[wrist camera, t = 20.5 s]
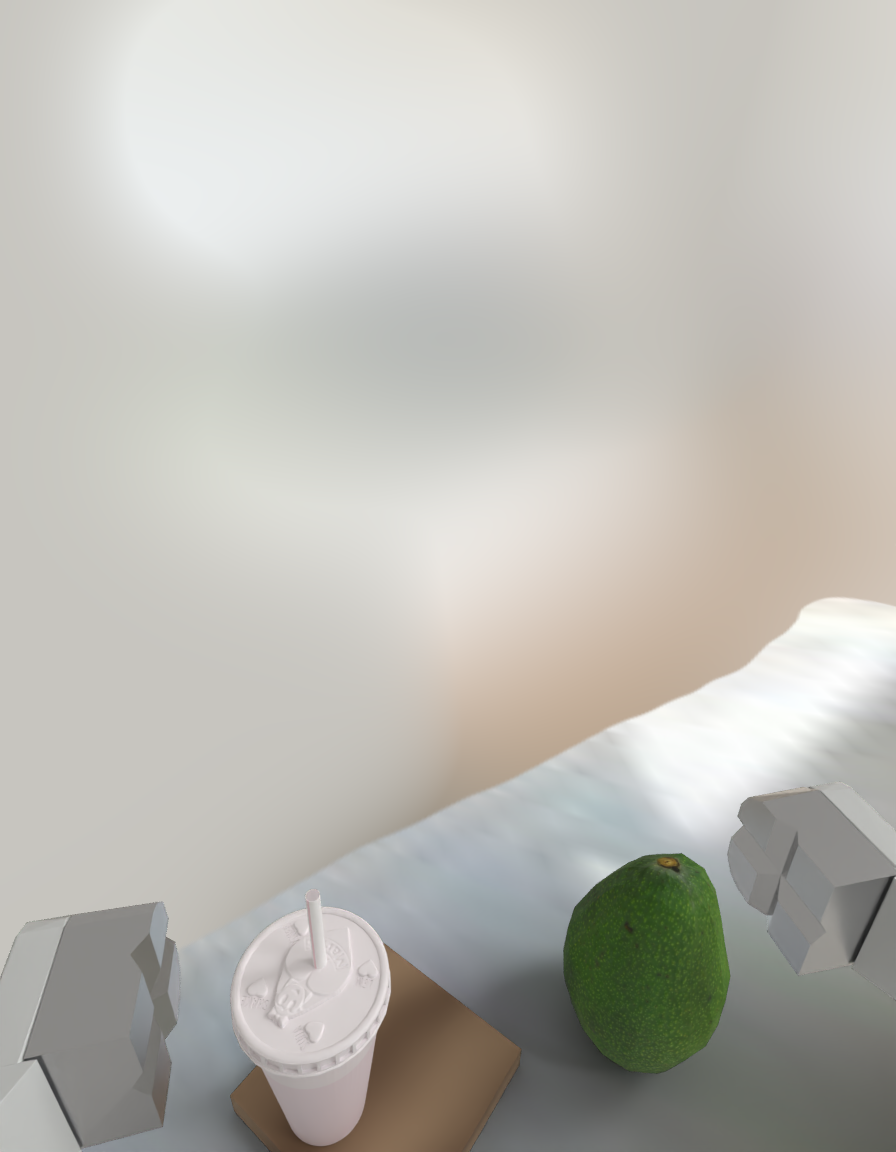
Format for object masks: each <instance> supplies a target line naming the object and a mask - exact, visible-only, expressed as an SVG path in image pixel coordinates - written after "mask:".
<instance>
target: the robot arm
mask: <svg viewBox="0 0 896 1152" xmlns="http://www.w3.org/2000/svg"><path fill="white" fill-rule="evenodd" d="M738 818H739V819H740V821H741V822H742V824H743V826H742V827H741V828H740V829H739V830H738V831H737V832H736V833H735V834H734V836H733V837H732V838H731V841H730V845H729V849H728V854H727V855H728V861H729V866H730V872H731V875H732V877H733V879H734V882H735V884H736V886H737V888H738V890H739V891H740V893H741V894H742V896H743V897H744V899H745V900H746V902H747V903H748V904H749V905H751V906H752V907H754V908H756V909H757V910H759V911H760V912H762V913H764V914H765V915H767V932H768V934H769V935H770V936H771V938H772V939H773V941H774V942H775V944H776V945H777V946H778V948H779V949H780V951H781V952H782V954H783V955H784V956H785V958H786V959H787V961H788V962H789V964H790V965H791V966H792V968H793V969H794V971H795V972H796V974H797V975H798V976H800V975H805V974H809V973H814V972H819V971H824V970H829V969H834V968H839V967H844V966H849V965H853V967H852V969H853V970H855V971H856V972H857V973H859V974H860V975H861V976H863V977H864V978H866V979H867V980H868V981H870V982H871V983H872V984H874V985H875V986H876V987H878V988H879V989H880V990H882V991H883V992H885V993H886V994H887V995H889V996H890V997H891V998H893V999H894V1000H895V1001H896V830H895V829H894V828H893V827H892V826H891V825H890V824H889V823H888V822H887V821H885V820H884V819H883V818H882V817H881V816H880V815H879V814H878V813H877V812H876V811H875V810H874V809H873V808H872V807H871V806H870V805H869V804H868V803H867V802H866V801H865V800H864V799H863V798H862V797H861V796H860V795H859V794H858V793H857V792H856V791H855V790H854V789H852V788H851V787H850V786H848V785H846V784H844V783H842V782H833V783H827V784H822V785H816V786H810V787H807V788H806V787H800V788H795V789H790V790H785V791H780V792H774V793H769V794H764V795H759V796H753V797H749V798H747V799H746V800H745V801H744V802H743V803H742V804H741V807H740V810H739V813H738ZM167 925H168V916H167V913H166V910H165V907H164V904H163V902H156V903H149V904H142V905H135V906H129V907H122V908H115V909H108V910H102V911H95V912H88V913H81V914H75V915H69V916H63V917H57V918H51V919H44V920H39V921H32V922H27V923H26V924H25V925H24V927H23V928H22V930H21V931H20V932H19V934H18V935H17V936H16V938H15V940H14V943H13V945H12V948H11V951H10V953H9V956H8V958H7V961H6V964H5V966H4V969H3V972H2V974H1V977H0V1152H82V1151H81V1149H82V1148H86V1147H90V1146H93V1145H97V1144H101V1143H105V1142H108V1141H112V1140H116V1139H120V1138H123V1137H127V1136H131V1135H135V1134H138V1133H142V1132H146V1131H150V1130H153V1129H157V1128H161V1127H163V1121H164V1114H165V1107H166V1100H167V1092H168V1085H169V1078H170V1071H171V1064H172V1063H171V1060H170V1056H169V1053H168V1050H167V1046H166V1043H165V1039H166V1038H167V1036H168V1035H169V1033H170V1032H171V1031H172V1029H173V1028H174V1027H175V1025H176V1024H177V1018H178V1010H179V1001H180V965H179V956H178V952H177V948H176V944H175V942H174V941H173V940H171V939H169V938H167V937H166V932H167Z"/></svg>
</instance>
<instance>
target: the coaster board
mask: <svg viewBox="0 0 896 1152" xmlns="http://www.w3.org/2000/svg"><path fill="white" fill-rule="evenodd" d="M383 945H384V947H385V950H386V953H387V957H388V963H389V969H390V981H391V994H390V998H389V1003H388V1007H387V1012H386V1015H385V1017H384V1019H383V1021H382V1023H381V1025H380V1027H379V1029H378V1031H377V1034H376V1040H375V1046H374V1052H373V1058H372V1064H371V1070H370V1076H369V1082H368V1088H367V1094H366V1100H365V1105H364V1109H363V1112H362V1115H361V1117H360V1119H359V1121H358V1123H357V1124H356V1126H355V1127H354V1128H353V1130H352V1131H351V1132H350V1133H349V1134H348V1135H347V1136H346V1137H344V1138H343V1139H342V1140H340V1141H338V1142H336V1143H334V1144H331V1145H327V1146H313V1145H310V1144H307V1143H305V1142H303V1141H302V1140H301V1139H299V1138H298V1137H297V1136H296V1135H295V1133H294V1132H293V1130H292V1129H291V1127H290V1125H289V1123H288V1121H287V1119H286V1117H285V1114H284V1112H283V1110H282V1108H281V1106H280V1104H279V1102H278V1100H277V1098H276V1096H275V1094H274V1092H273V1090H272V1088H271V1086H270V1084H269V1082H268V1080H267V1078H266V1076H265V1074H264V1072H263V1070H262V1068H261V1067H259V1066H256V1067H255V1068H254V1069H253V1070H252V1071H251V1073H250V1074H249V1075H248V1076H247V1077H246V1078H245V1079H244V1080H243V1082H242V1083H241V1084H240V1085H239V1086H238V1087H237V1088H236V1089H235V1091H234V1092H233V1093H232V1094H231V1095H230V1097H231V1101H232V1104H233V1108H234V1111H235V1112H236V1114H237V1115H238V1116H239V1117H240V1118H241V1119H242V1120H243V1121H244V1122H245V1124H246V1125H247V1126H248V1127H249V1128H250V1129H251V1130H252V1131H253V1132H254V1134H255V1135H256V1136H257V1137H258V1138H259V1139H260V1140H261V1141H262V1142H263V1144H264V1145H265V1146H266V1147H267V1148H268V1149H269V1150H270V1151H271V1152H470V1150H471V1148H472V1146H473V1145H474V1143H475V1141H476V1140H477V1138H478V1136H479V1134H480V1133H481V1131H482V1129H483V1127H484V1126H485V1124H486V1122H487V1120H488V1119H489V1117H490V1115H491V1113H492V1112H493V1110H494V1108H495V1106H496V1105H497V1103H498V1101H499V1099H500V1098H501V1096H502V1094H503V1092H504V1091H505V1089H506V1087H507V1085H508V1084H509V1082H510V1080H511V1078H512V1077H513V1075H514V1073H515V1072H516V1070H517V1068H518V1066H519V1063H520V1056H521V1048H519V1047H518V1046H517V1045H515V1044H514V1043H513V1042H511V1041H510V1040H509V1039H508V1038H506V1037H505V1036H504V1035H502V1034H501V1033H500V1032H498V1031H497V1030H496V1029H495V1028H493V1027H492V1026H491V1025H489V1024H488V1023H487V1022H486V1021H484V1020H483V1019H482V1018H480V1017H479V1016H478V1015H476V1014H475V1013H474V1012H473V1011H471V1010H470V1009H469V1008H467V1007H466V1006H465V1005H463V1004H462V1003H461V1002H460V1001H458V1000H457V999H456V998H454V997H453V996H452V995H450V994H449V993H448V992H447V991H445V990H444V989H443V988H441V987H440V986H439V985H437V984H436V983H435V982H434V981H432V980H431V979H430V978H428V977H427V976H426V975H424V974H423V973H422V972H421V971H419V970H418V969H417V968H415V967H414V966H413V965H411V964H410V963H409V962H408V961H406V960H405V959H404V958H402V957H401V956H400V955H399V954H397V953H396V952H395V951H393V950H392V949H391V948H389V947H388V946H387V945H386V944H384V943H383Z"/></svg>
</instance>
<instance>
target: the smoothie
mask: <svg viewBox="0 0 896 1152" xmlns="http://www.w3.org/2000/svg"><path fill="white" fill-rule="evenodd" d="M305 900H306V909H302V910H298V911H295V912H292V913H290V914H288V915H285V916H283V917H282V918H280V919H278V920H276V921H275V922H273V923H272V924H270V925H269V926H268V927H266V928H265V929H264V930H263V931H262V932H261V933H260V934H259V935H258V936H257V937H256V938H255V939H254V940H253V941H252V942H251V943H250V945H249V946H248V948H247V949H246V950H245V952H244V954H243V955H242V957H241V959H240V961H239V963H238V965H237V968H236V970H235V973H234V977H233V980H232V985H231V994H230V1004H231V1014H232V1024H233V1030H234V1033H235V1035H236V1037H237V1040H238V1042H239V1045H240V1047H241V1049H242V1050H243V1051H244V1052H245V1053H246V1055H247V1056H248V1057H249V1058H250V1059H251V1060H252V1061H253V1063H254V1064H256V1065H257V1066H259V1067H261V1068H262V1070H263V1072H264V1074H265V1076H266V1078H267V1080H268V1082H269V1084H270V1086H271V1088H272V1090H273V1092H274V1094H275V1096H276V1098H277V1100H278V1102H279V1104H280V1106H281V1108H282V1110H283V1112H284V1114H285V1117H286V1119H287V1121H288V1123H289V1125H290V1127H291V1129H292V1130H293V1132H294V1133H295V1135H296V1136H297V1137H298V1138H299V1139H301V1140H302V1141H303V1142H305V1143H307V1144H310V1145H313V1146H327V1145H331V1144H334V1143H336V1142H338V1141H340V1140H342V1139H343V1138H344V1137H346V1136H347V1135H348V1134H349V1133H350V1132H351V1131H352V1130H353V1128H354V1127H355V1126H356V1124H357V1123H358V1121H359V1119H360V1117H361V1115H362V1112H363V1109H364V1105H365V1100H366V1094H367V1088H368V1082H369V1076H370V1070H371V1064H372V1058H373V1052H374V1046H375V1040H376V1034H377V1031H378V1029H379V1027H380V1025H381V1023H382V1021H383V1019H384V1017H385V1015H386V1012H387V1007H388V1003H389V998H390V994H391V981H390V969H389V963H388V957H387V953H386V950H385V947H384V945H383V942H382V940H381V939H380V937H379V935H378V934H377V932H376V931H375V930H374V929H373V928H372V926H371V925H370V924H368V923H367V922H366V921H365V920H364V919H362V918H361V917H359V916H357V915H356V914H354V913H351V912H349V911H346V910H343V909H339V908H334V907H321V900H320V892H319V891H318V890H317V889H310V890H309V891H307V892H306V894H305Z"/></svg>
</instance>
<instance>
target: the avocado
mask: <svg viewBox="0 0 896 1152" xmlns="http://www.w3.org/2000/svg"><path fill="white" fill-rule="evenodd" d="M563 952H564V977H565V982H566V985H567V988H568V991H569V994H570V998H571V1001H572V1005H573V1007H574V1009H575V1012H576V1014H577V1016H578V1019H579V1021H580V1024H581V1026H582V1028H583V1030H584V1031H585V1032H586V1034H587V1035H588V1036H589V1038H590V1039H591V1040H592V1041H593V1043H594V1044H595V1045H596V1047H597V1048H598V1049H599V1050H600V1052H601V1053H602V1054H603V1055H604V1056H606V1057H607V1058H609V1059H610V1060H612V1061H614V1062H615V1063H617V1064H618V1065H620V1066H621V1067H623V1068H624V1069H626V1070H628V1071H630V1072H643V1073H656V1074H657V1073H661V1072H665V1071H667V1070H669V1069H671V1068H672V1067H674V1066H676V1065H678V1064H679V1063H681V1062H683V1061H684V1060H686V1059H687V1058H689V1057H690V1056H692V1055H693V1054H695V1053H696V1052H698V1051H699V1050H701V1049H702V1048H704V1047H705V1046H706V1044H707V1043H708V1041H709V1039H710V1038H711V1036H712V1034H713V1032H714V1031H715V1029H716V1027H717V1026H718V1023H719V1019H720V1016H721V1013H722V1010H723V1007H724V1004H725V1000H726V995H727V990H728V985H729V980H730V971H729V966H728V960H727V954H726V948H725V942H724V935H723V928H722V921H721V915H720V910H719V905H718V900H717V895H716V891H715V888H714V886H713V885H712V883H711V881H710V879H709V877H708V875H707V873H706V871H705V869H704V868H702V867H701V866H700V865H698V864H697V863H695V862H694V861H692V860H691V859H689V858H688V857H686V856H685V855H683V854H682V853H680V854H656V855H647V856H642V857H640V858H638V859H636V860H634V861H631V862H629V863H627V864H625V865H624V866H622V867H621V868H619V869H618V870H616V871H614V872H613V873H612V874H610V875H609V876H607V877H606V878H605V879H603V880H602V881H600V882H599V883H598V884H596V885H595V886H594V887H593V888H592V889H591V890H590V891H589V892H588V894H587V895H586V896H585V897H584V898H583V899H582V900H581V901H580V902H579V903H578V904H577V905H576V906H575V908H574V911H573V914H572V917H571V920H570V923H569V926H568V930H567V935H566V940H565V945H564V950H563Z"/></svg>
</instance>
